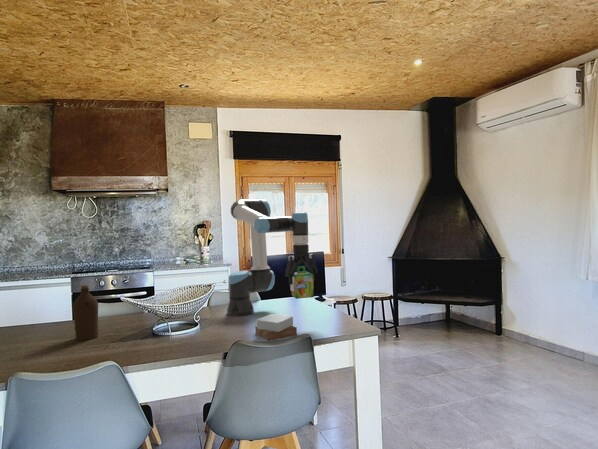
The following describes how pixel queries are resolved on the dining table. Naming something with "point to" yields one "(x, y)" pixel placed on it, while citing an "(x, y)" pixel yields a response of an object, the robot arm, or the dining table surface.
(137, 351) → the dining table surface
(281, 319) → the grey slab
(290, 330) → the walnut slab
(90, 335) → the olive oil
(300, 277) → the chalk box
